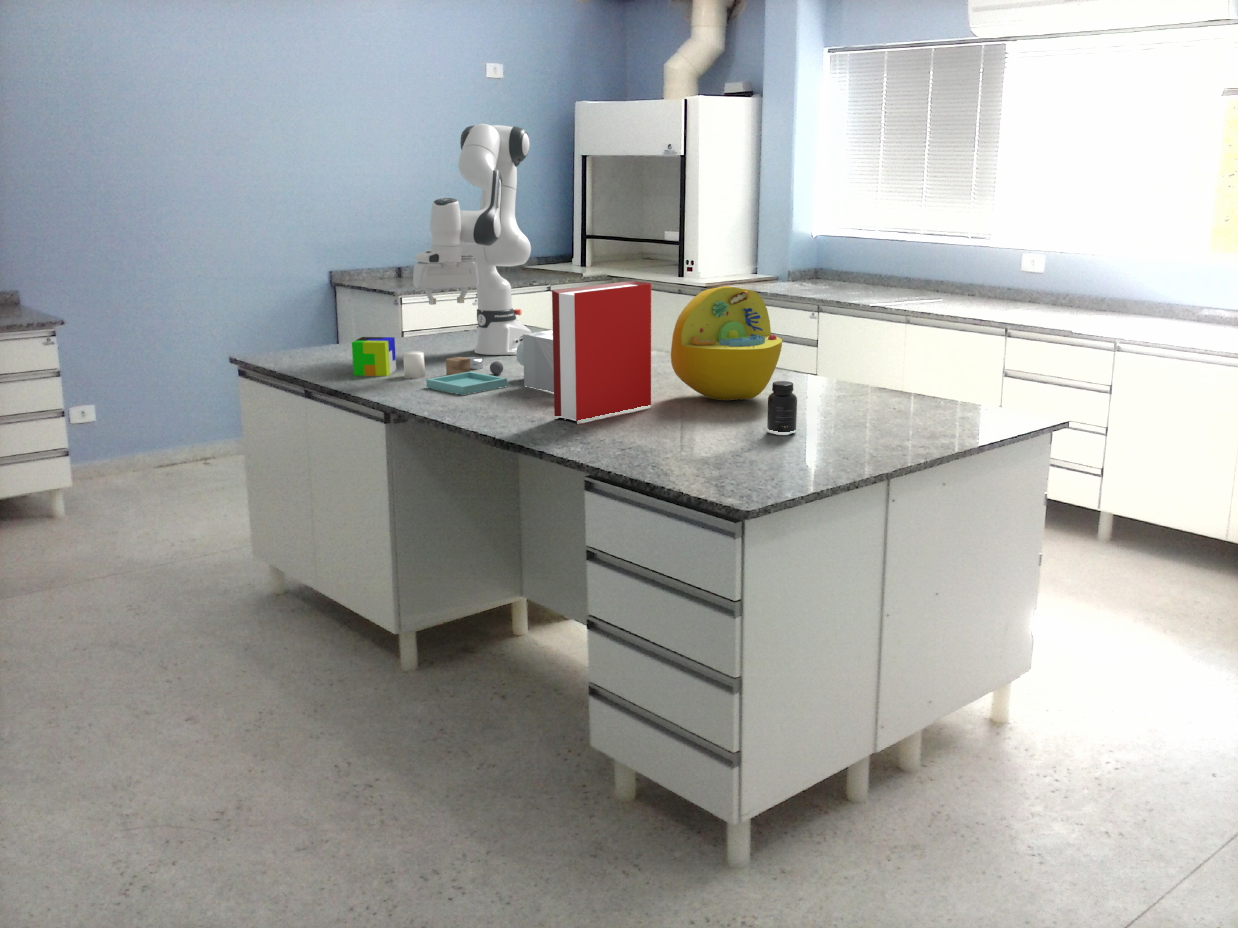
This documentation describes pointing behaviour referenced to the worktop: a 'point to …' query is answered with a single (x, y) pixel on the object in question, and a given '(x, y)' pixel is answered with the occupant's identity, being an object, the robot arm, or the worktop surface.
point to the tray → (466, 382)
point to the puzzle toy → (374, 356)
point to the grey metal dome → (475, 363)
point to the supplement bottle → (782, 407)
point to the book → (601, 349)
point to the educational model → (725, 344)
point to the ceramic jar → (414, 364)
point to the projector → (537, 360)
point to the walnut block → (457, 365)
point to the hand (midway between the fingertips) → (446, 303)
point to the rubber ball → (496, 368)
